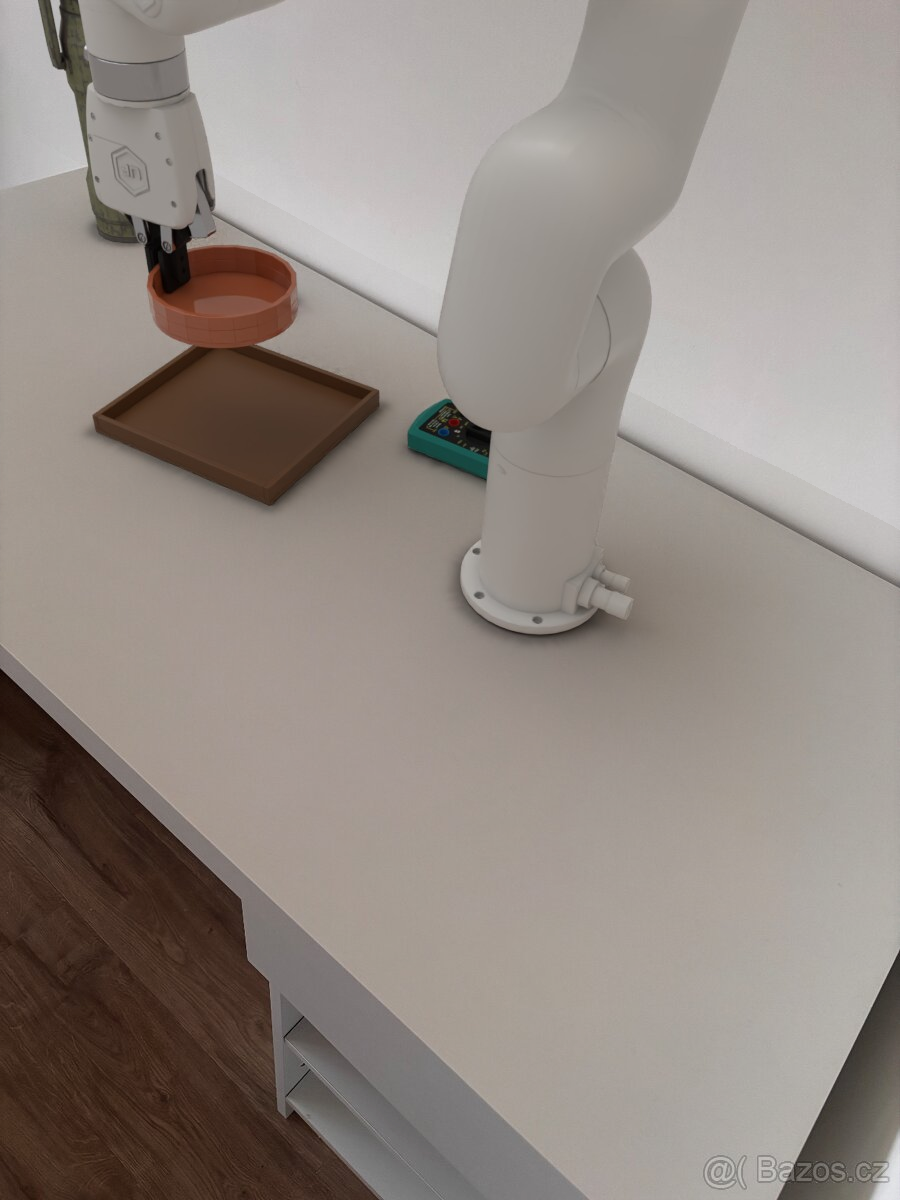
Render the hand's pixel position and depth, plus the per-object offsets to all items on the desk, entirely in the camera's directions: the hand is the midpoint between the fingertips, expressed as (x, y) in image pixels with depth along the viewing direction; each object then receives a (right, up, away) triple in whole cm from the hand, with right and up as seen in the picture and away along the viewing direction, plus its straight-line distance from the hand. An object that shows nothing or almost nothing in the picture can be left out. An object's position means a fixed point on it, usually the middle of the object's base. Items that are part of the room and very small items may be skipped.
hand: (171, 283), depth 97 cm
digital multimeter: (+29, -15, +8) cm, 34 cm away
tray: (+4, -11, +11) cm, 16 cm away
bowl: (+5, -3, -1) cm, 6 cm away
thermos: (-15, +19, +39) cm, 46 cm away
